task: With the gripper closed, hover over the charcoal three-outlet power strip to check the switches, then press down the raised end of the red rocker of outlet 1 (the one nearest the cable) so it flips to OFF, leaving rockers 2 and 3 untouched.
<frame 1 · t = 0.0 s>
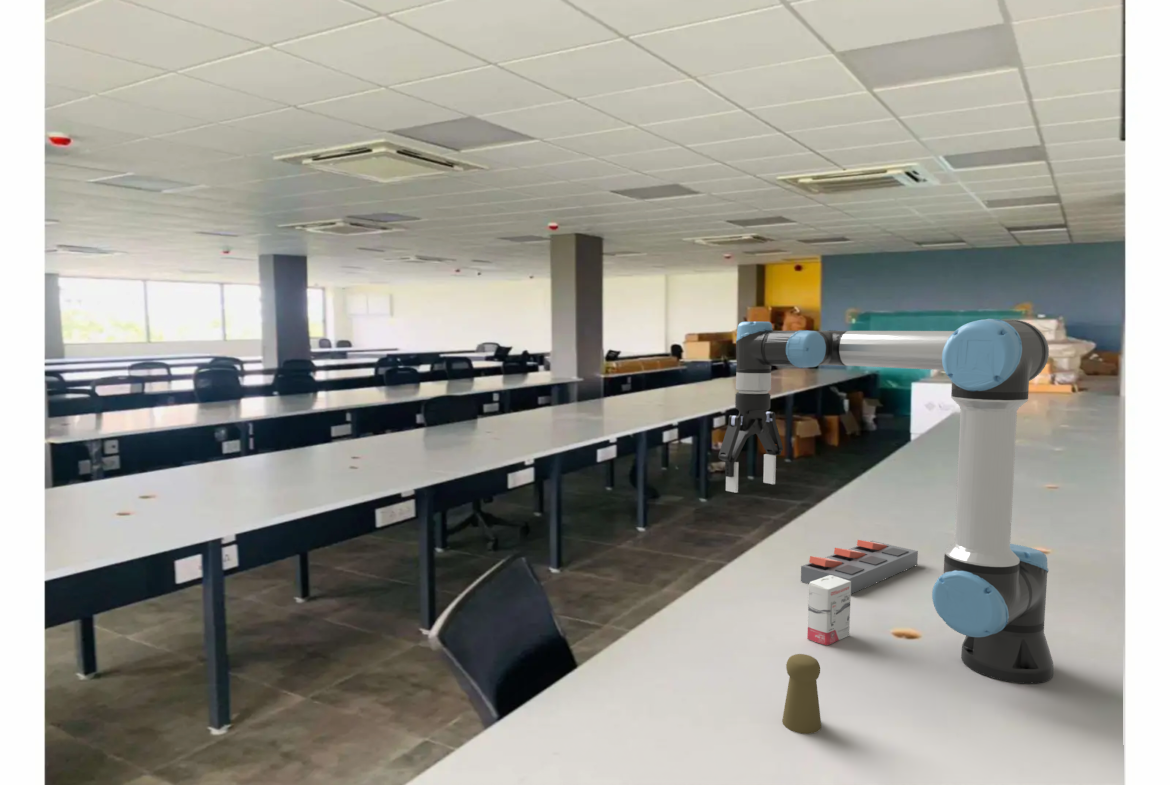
hand: (751, 487, 169), 28 cm above the table, fingers open, 13 cm apart
rocker 3: (825, 562, 192), point 5 cm above the table, hinge at 15.0°
power strip: (860, 573, 198), on the table
rocker 2: (849, 553, 200), point 5 cm above the table, hinge at 15.0°
ink box: (828, 638, 157), on the table
olive brown peg figure: (801, 725, 122), on the table
rocker 1: (872, 545, 207), point 5 cm above the table, hinge at 15.0°
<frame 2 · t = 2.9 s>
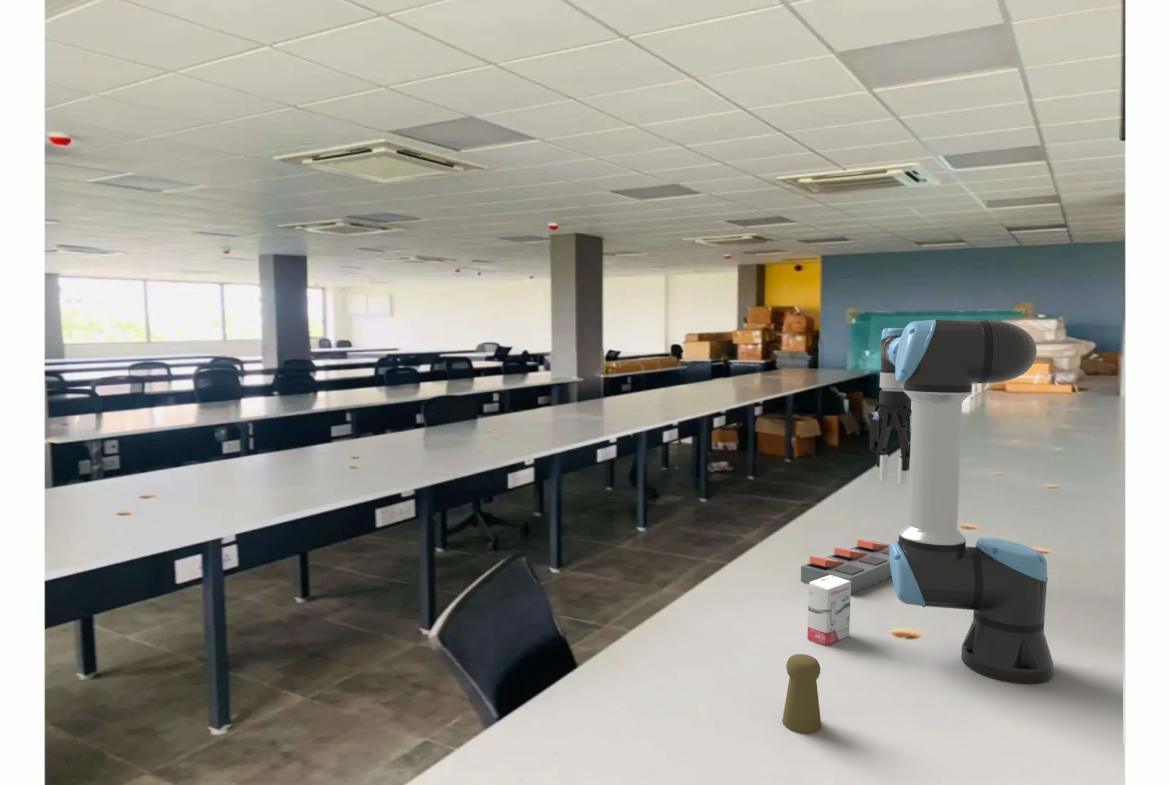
hand: (892, 481, 193), 25 cm above the table, fingers open, 4 cm apart
nothing on the table moved.
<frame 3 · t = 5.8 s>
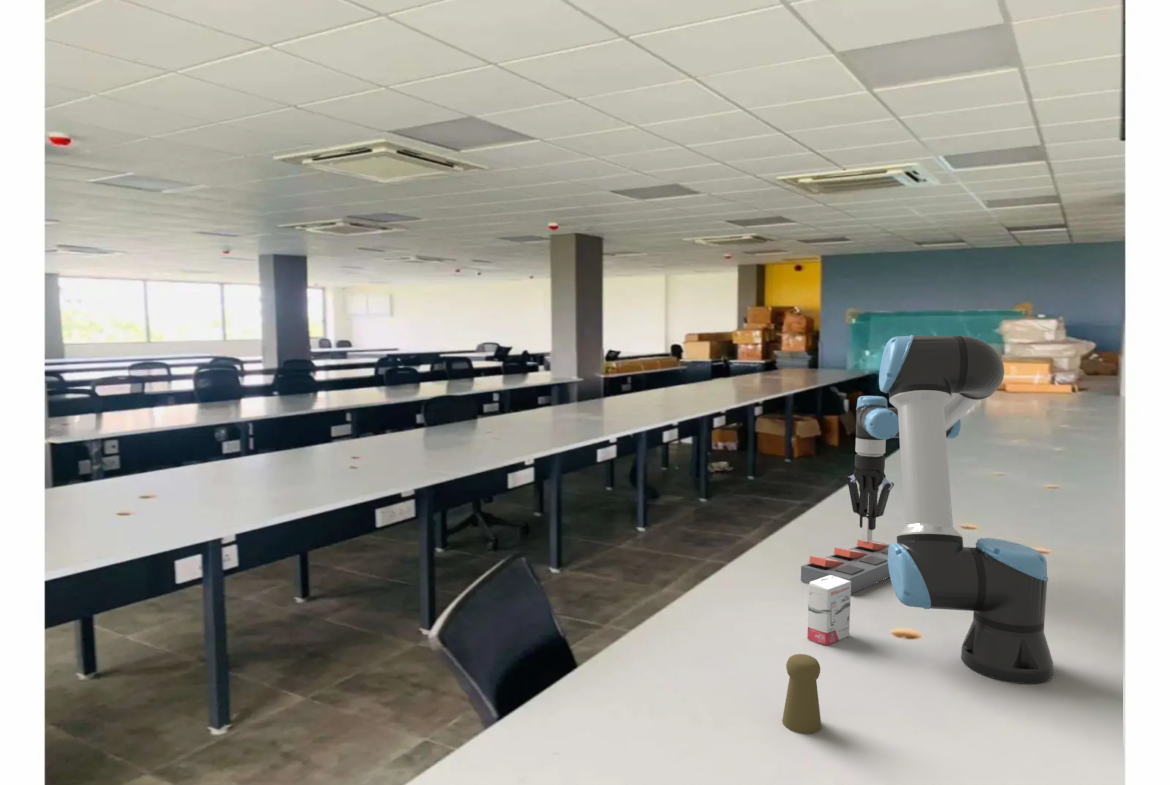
hand: (866, 540, 206), 6 cm above the table, fingers closed
rocker 1: (872, 545, 207), point 5 cm above the table, hinge at 14.8°, touching gripper
everything else where it was.
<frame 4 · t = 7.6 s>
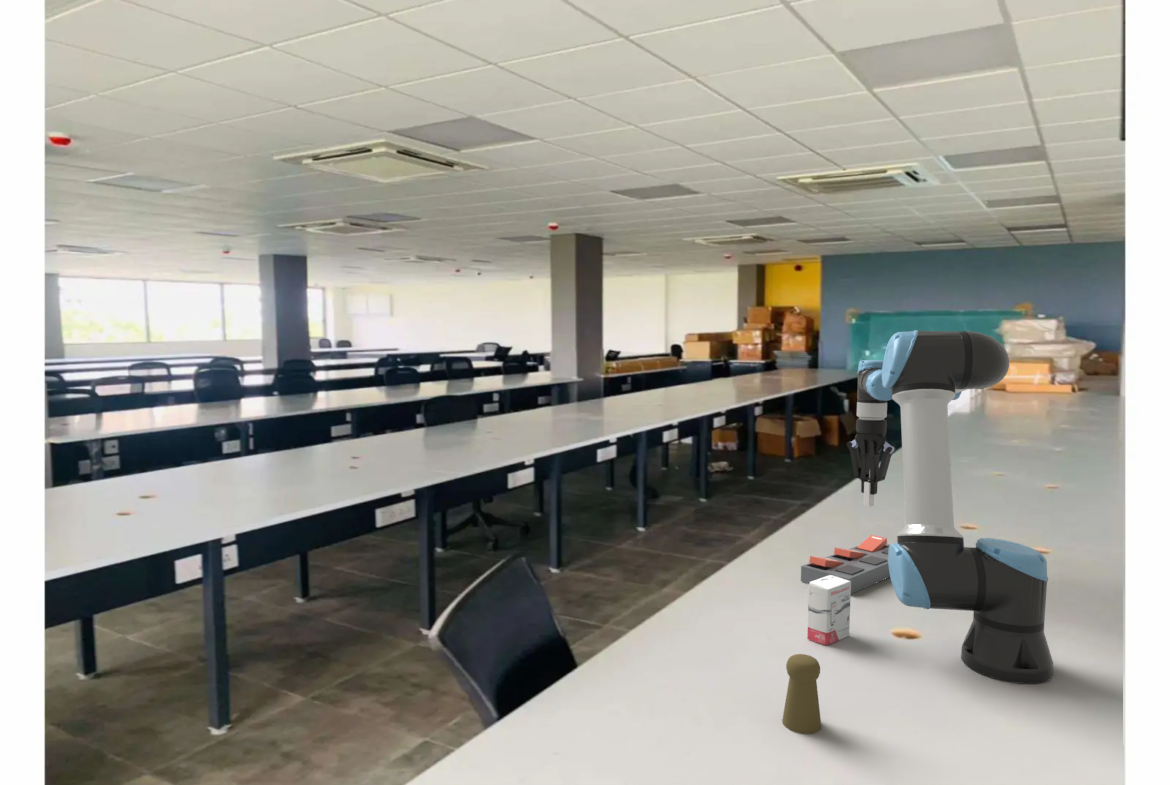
hand: (868, 505, 205), 16 cm above the table, fingers closed
rocker 1: (872, 545, 207), point 5 cm above the table, hinge at -15.5°
everything else where it was.
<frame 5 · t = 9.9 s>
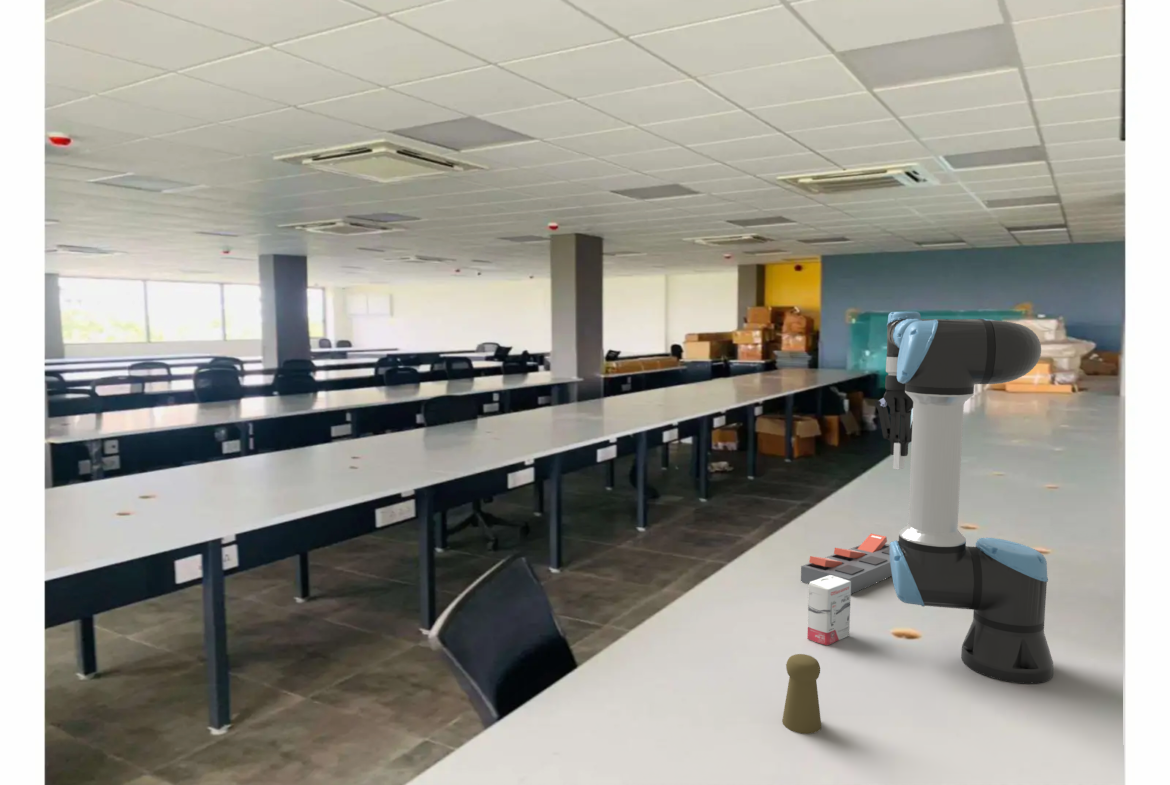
hand: (898, 468, 191), 28 cm above the table, fingers closed
rocker 1: (872, 545, 207), point 5 cm above the table, hinge at -23.1°
everything else where it was.
at the end: rocker 1 at -23° (first picture: +15°); rocker 2 at +15° (first picture: +15°); rocker 3 at +15° (first picture: +15°) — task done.
